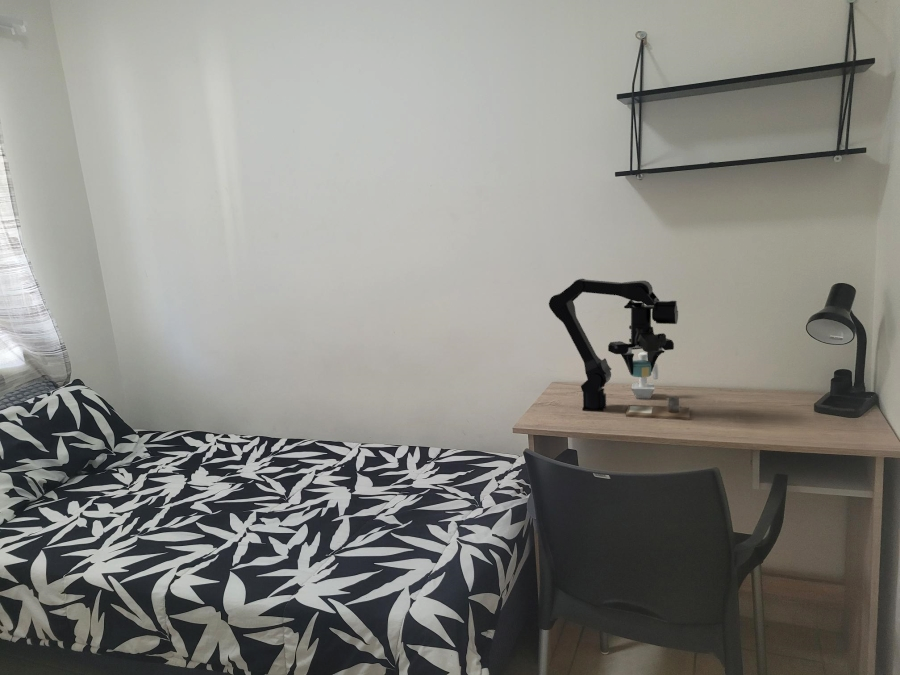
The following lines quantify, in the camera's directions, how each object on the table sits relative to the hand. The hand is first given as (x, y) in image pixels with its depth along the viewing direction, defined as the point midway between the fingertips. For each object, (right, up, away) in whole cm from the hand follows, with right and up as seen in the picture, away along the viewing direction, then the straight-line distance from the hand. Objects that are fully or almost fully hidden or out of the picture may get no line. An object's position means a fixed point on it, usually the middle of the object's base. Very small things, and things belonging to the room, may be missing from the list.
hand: (640, 373), depth 188 cm
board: (+5, -12, 0) cm, 13 cm away
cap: (0, 0, 0) cm, 0 cm away
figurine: (+7, -9, +19) cm, 22 cm away
